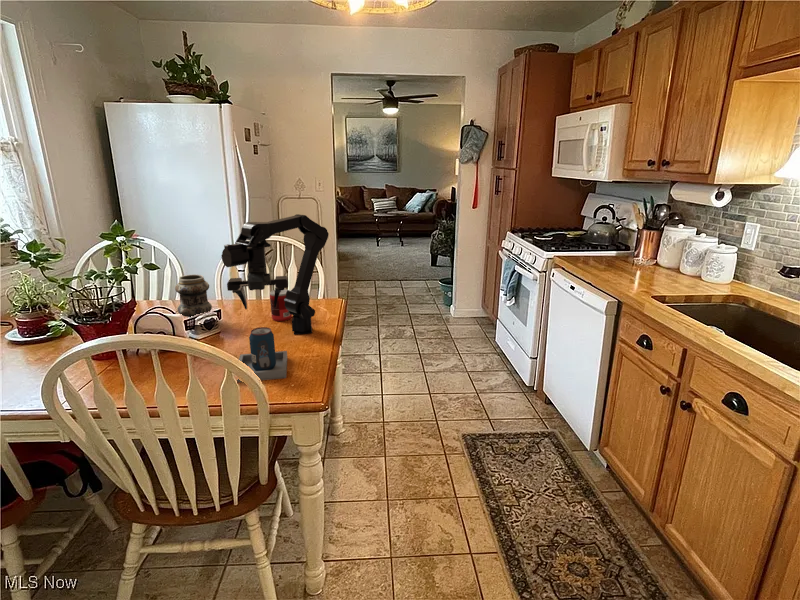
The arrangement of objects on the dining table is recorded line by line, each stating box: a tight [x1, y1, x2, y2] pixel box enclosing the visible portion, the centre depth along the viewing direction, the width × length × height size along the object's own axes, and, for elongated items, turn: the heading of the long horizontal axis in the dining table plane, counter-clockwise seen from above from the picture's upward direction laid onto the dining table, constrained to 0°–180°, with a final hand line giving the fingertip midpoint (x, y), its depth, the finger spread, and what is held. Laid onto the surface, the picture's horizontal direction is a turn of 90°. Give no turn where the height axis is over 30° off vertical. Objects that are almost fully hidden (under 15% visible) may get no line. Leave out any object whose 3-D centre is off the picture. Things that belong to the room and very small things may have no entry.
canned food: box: [269, 288, 293, 322], centre depth 178 cm, size 8×8×11 cm
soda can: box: [248, 326, 276, 371], centre depth 134 cm, size 7×7×12 cm
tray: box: [237, 350, 288, 383], centre depth 135 cm, size 14×14×2 cm
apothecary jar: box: [174, 274, 213, 318], centre depth 172 cm, size 12×12×18 cm
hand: (260, 308), depth 150 cm, fingers open, 9 cm apart
